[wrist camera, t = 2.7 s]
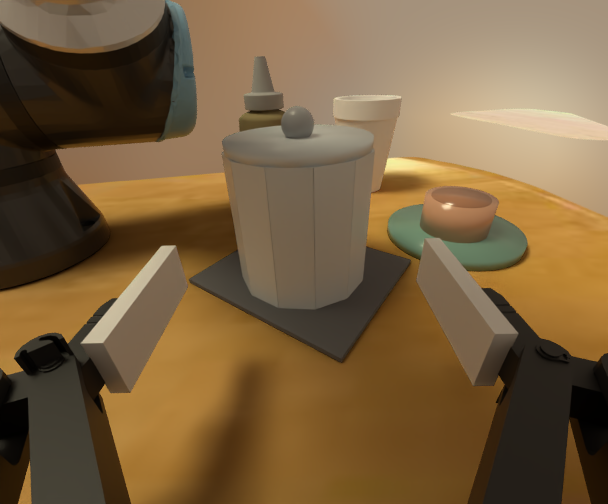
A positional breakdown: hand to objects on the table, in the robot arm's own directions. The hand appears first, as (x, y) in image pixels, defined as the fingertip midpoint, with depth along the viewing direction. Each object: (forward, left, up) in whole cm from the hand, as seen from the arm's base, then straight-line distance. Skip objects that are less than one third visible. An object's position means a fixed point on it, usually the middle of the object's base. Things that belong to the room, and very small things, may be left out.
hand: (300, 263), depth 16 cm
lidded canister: (-6, +8, -7) cm, 12 cm away
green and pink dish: (+4, +23, -8) cm, 25 cm away
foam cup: (-12, +33, -8) cm, 36 cm away
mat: (-6, +8, -8) cm, 12 cm away
